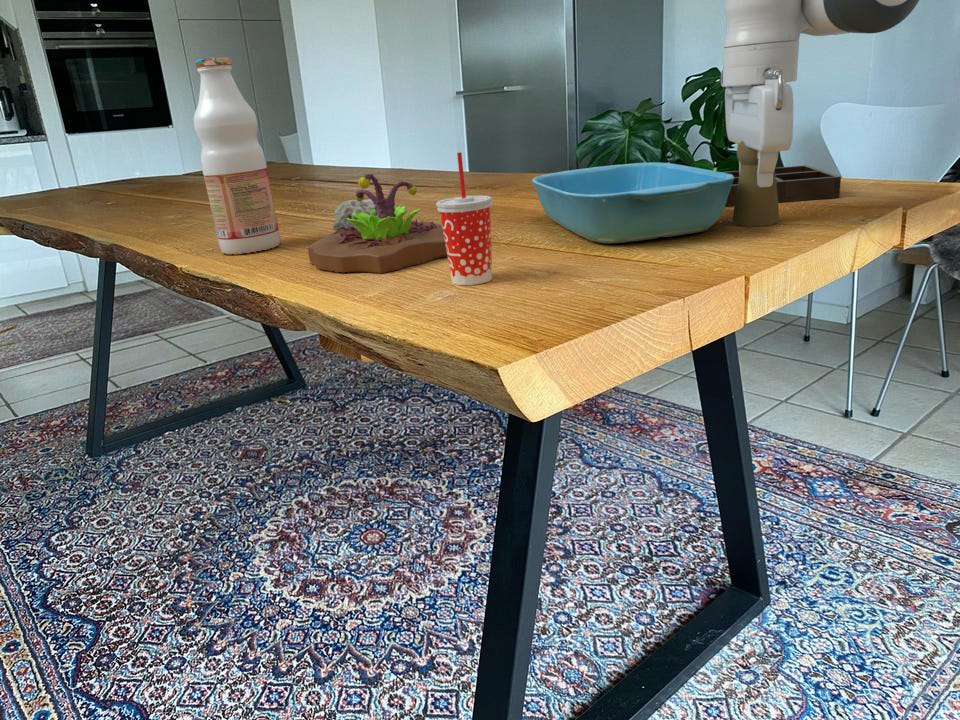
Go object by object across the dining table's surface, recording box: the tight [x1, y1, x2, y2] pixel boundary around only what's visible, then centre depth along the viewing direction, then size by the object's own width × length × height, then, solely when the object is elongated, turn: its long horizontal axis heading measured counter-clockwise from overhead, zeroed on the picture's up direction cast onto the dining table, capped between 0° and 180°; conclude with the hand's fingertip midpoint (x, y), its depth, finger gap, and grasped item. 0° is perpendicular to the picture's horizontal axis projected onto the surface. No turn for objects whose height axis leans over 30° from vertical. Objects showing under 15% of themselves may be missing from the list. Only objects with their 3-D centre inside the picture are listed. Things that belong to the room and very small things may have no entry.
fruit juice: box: [192, 57, 281, 255], centre depth 112 cm, size 9×9×28 cm
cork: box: [731, 141, 781, 227], centre depth 97 cm, size 6×6×11 cm
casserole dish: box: [531, 161, 734, 244], centre depth 105 cm, size 37×22×7 cm, turn 9°
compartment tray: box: [721, 164, 842, 207], centre depth 118 cm, size 16×16×3 cm
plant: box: [307, 173, 448, 274], centre depth 99 cm, size 20×20×11 cm
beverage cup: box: [435, 151, 493, 286], centre depth 81 cm, size 6×6×14 cm
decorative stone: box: [332, 198, 375, 233], centre depth 125 cm, size 12×11×5 cm
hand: (754, 181), depth 97 cm, fingers open, 8 cm apart
